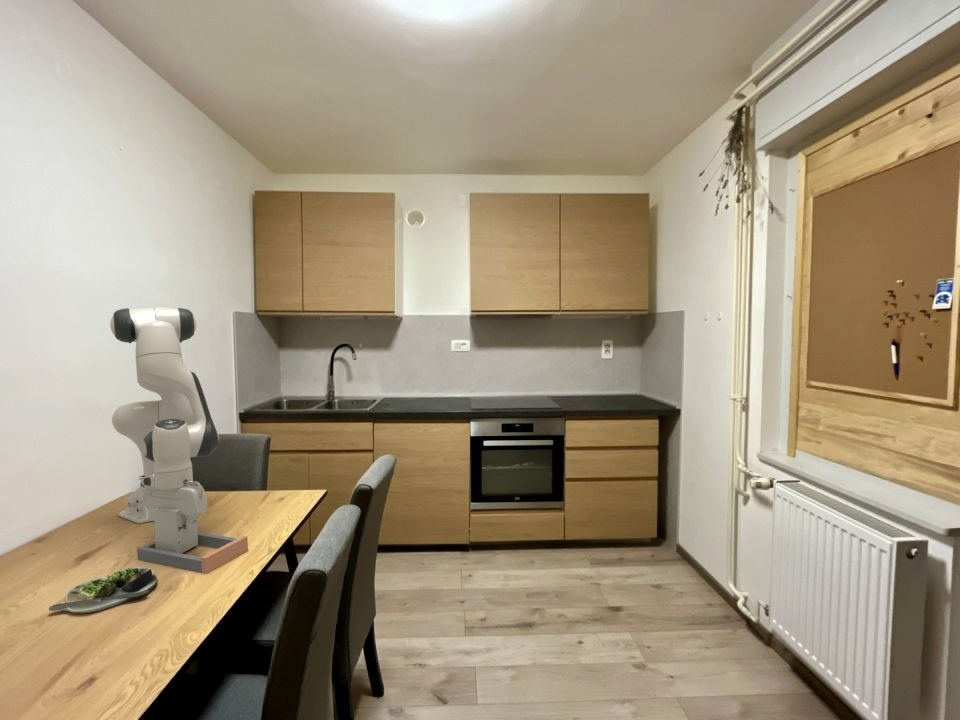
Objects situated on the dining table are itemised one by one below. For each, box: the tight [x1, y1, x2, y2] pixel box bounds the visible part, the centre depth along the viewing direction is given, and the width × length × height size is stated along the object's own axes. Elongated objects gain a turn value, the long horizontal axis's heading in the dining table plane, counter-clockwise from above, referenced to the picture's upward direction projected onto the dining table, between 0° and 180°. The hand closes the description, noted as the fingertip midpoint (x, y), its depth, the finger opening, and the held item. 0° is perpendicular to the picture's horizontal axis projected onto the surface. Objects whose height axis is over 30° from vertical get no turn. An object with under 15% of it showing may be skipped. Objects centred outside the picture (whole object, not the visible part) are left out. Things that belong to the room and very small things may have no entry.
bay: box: [136, 531, 249, 575], centre depth 126 cm, size 25×13×4 cm, turn 71°
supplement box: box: [153, 507, 199, 554], centre depth 128 cm, size 7×7×13 cm
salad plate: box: [48, 566, 158, 614], centre depth 107 cm, size 19×18×5 cm
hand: (176, 526), depth 128 cm, fingers closed on supplement box, 8 cm apart
